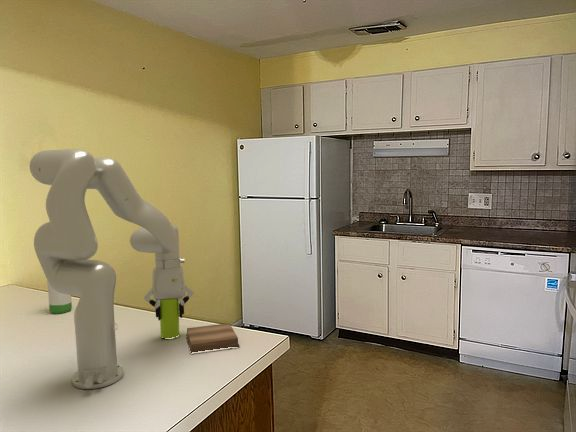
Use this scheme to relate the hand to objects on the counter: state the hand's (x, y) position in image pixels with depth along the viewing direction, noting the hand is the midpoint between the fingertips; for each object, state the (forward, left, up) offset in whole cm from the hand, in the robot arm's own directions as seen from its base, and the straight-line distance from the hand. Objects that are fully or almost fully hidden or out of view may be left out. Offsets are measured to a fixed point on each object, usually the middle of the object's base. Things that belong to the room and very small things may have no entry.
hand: (170, 317), depth 145 cm
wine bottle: (+42, +39, -7) cm, 58 cm away
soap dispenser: (0, 0, -7) cm, 7 cm away
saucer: (+15, +22, -7) cm, 28 cm away
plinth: (-9, -12, -7) cm, 16 cm away
